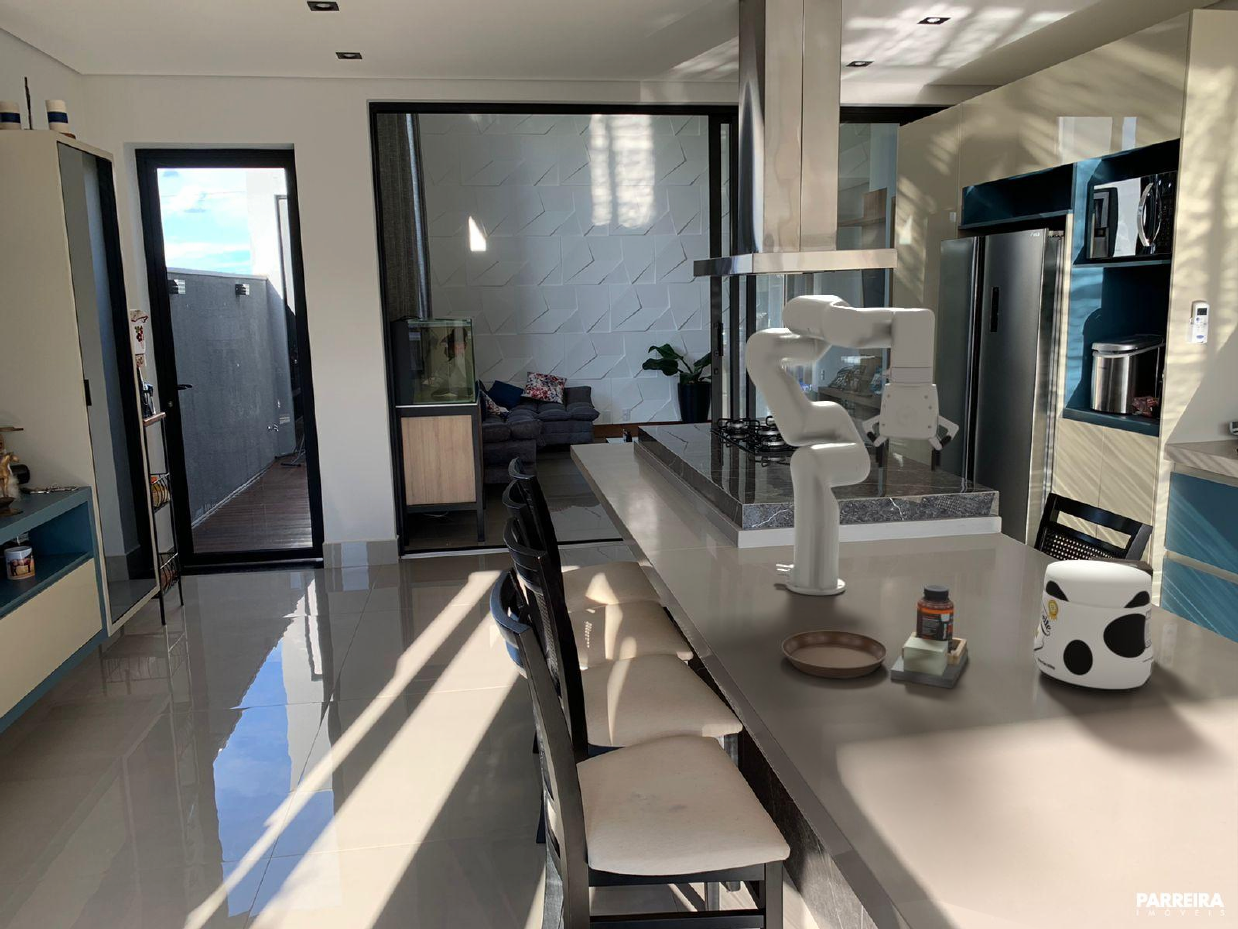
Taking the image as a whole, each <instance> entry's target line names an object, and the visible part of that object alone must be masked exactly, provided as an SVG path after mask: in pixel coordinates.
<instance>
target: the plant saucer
mask: <svg viewBox="0 0 1238 929" xmlns="http://www.w3.org/2000/svg"><path fill="white" fill-rule="evenodd" d="M781 649H782V652H783V654H784V655H785V657H786V658H787V659H788V660H789V662H790V663H791V664H793V667H796V668H797V669H798V670H800V671H801V672H804V673H806V674H809V675H813V676H817V677H821V678H822V677H823V678H831V679H851V678H852V679H853V678H858V677H864V676H867V675H868V674H871V673H872V672H874V671H876V669H877V668H879V667H880V666H881V664H882V663H883V662H884V661H885V660H886V658H887V656H888V647H887V646H886V645H885V644H884V643H882V642H881V641H879V640H877V639H876V638H873V637H871V636H869V635H865V634H861V633H857V632H851V631H843V630H831V629H829V630H826V629H825V630H813V631H805V632H799V633H797V634H793V635H791V636H789V637H787V638H786V639H785V640H784V641H783V642H782V644H781Z"/></svg>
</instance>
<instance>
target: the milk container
mask: <svg viewBox="0 0 1238 929" xmlns="http://www.w3.org/2000/svg"><path fill="white" fill-rule="evenodd" d="M1152 599H1153V581H1152V580H1151V576H1150V575H1149V574H1147V573H1146V572H1144V571H1142V570H1139V569H1136V568H1133V567H1130V566H1125V565H1121V564H1116V563H1109V562H1102V561H1090V559H1089V560H1087V559H1077V560H1076V559H1075V560H1074V559H1069V560H1060V561H1054V562H1051V563H1049V564H1048V565H1047V567H1046V570H1045V573H1044V579H1043V591H1042V611H1041V613H1042V614H1041V618H1040V622H1039V624H1038V628H1037V630H1036V633H1035V635H1034V641H1033V654H1034V660H1035V661H1034V662H1035V663H1036V666H1037V668H1038V669H1039V671H1041V672H1042V674H1044V675H1045V676H1046V677H1049V678H1050V679H1052V680H1054V681H1055V682H1057V683H1060V684H1064V685H1065V686H1069V687H1072V688H1075V689H1082V690H1085V691H1091V692H1100V693H1101V692H1102V693H1120V692H1121V693H1124V692H1128V691H1132V690H1133V691H1134V690H1137V689H1139V688H1141V687H1143V686H1144V685H1145V684H1147V682H1148V681H1149V680H1150V678H1151V676H1152V673H1153V668H1154V664H1155V663H1154V661H1155V653H1154V647H1153V643H1152V642H1153V641H1152V638H1151V634H1150V632H1151V630H1150V628H1151V627H1150V624H1151V617H1152V610H1153V609H1152V608H1153V604H1152Z"/></svg>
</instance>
